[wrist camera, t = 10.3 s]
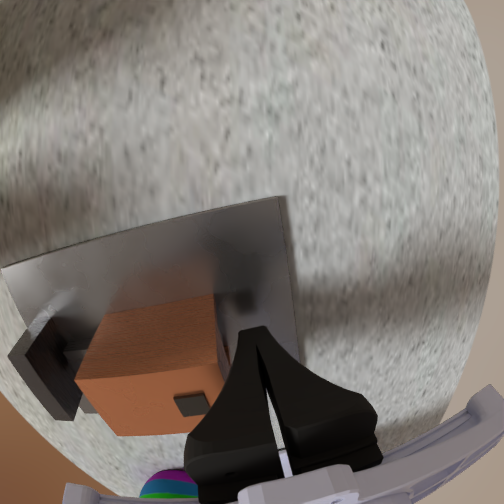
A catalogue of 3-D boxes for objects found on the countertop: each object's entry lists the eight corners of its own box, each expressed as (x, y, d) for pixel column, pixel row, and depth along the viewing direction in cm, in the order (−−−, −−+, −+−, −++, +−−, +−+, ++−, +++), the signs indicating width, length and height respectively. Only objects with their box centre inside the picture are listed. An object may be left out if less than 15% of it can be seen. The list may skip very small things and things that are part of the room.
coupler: (300, 379, 18) (318, 425, 14) (86, 409, 17) (74, 450, 13) (275, 196, 13) (302, 217, 10) (3, 266, 12) (-35, 298, 8)
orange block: (230, 354, 16) (240, 427, 11) (132, 369, 15) (117, 438, 10) (213, 293, 14) (217, 365, 9) (104, 314, 14) (73, 382, 9)
